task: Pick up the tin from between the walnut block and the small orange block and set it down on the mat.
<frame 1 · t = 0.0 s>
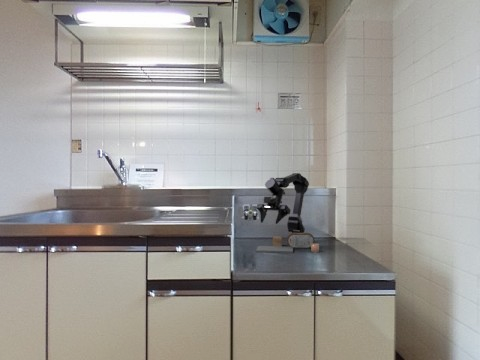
hand: (268, 223, 174), 15 cm above the counter, tool tilted 35°, fingers open, 9 cm apart
walnut block: (277, 246, 188), on the counter
mat: (274, 250, 176), on the counter
tin: (300, 248, 182), on the counter
small orange block: (315, 251, 172), on the counter
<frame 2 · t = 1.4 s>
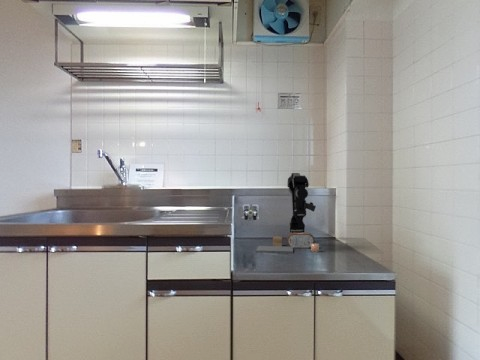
hand: (300, 226, 182), 12 cm above the counter, tool pointing down, fingers open, 9 cm apart
nothing on the counter moved.
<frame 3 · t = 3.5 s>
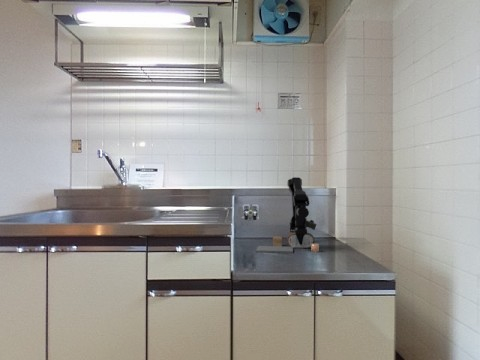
hand: (300, 244, 182), 2 cm above the counter, tool pointing down, fingers closed on tin, 3 cm apart
tin: (300, 248, 182), on the counter, touching gripper
everything else where it was.
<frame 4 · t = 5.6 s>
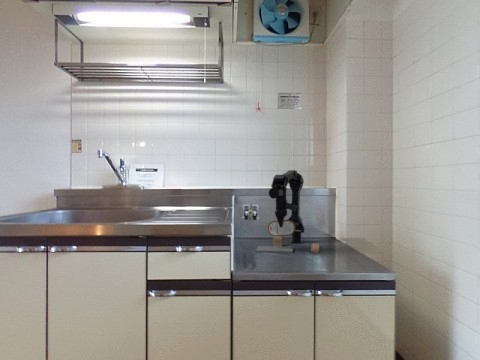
hand: (281, 226, 177), 12 cm above the counter, tool pointing down, fingers closed on tin, 2 cm apart
tin: (282, 236, 177), point 7 cm above the counter, touching gripper
everything else where it was.
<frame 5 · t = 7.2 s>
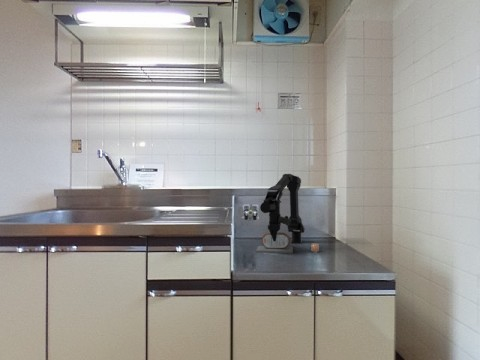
hand: (274, 240, 176), 5 cm above the counter, tool pointing down, fingers closed on tin, 3 cm apart
tin: (275, 248, 176), point 1 cm above the counter, touching gripper, mat
everything else where it was.
when the fingers open (5 cm above the counter, at t = 7.9 s): tin stays where it is, resting on mat.
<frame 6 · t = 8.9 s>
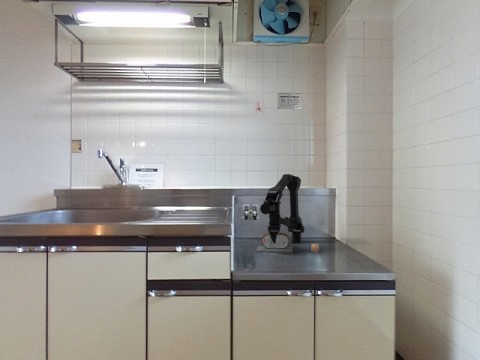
hand: (274, 241, 176), 5 cm above the counter, tool pointing down, fingers open, 9 cm apart
tin: (275, 248, 176), point 1 cm above the counter, touching mat
everything else where it was.
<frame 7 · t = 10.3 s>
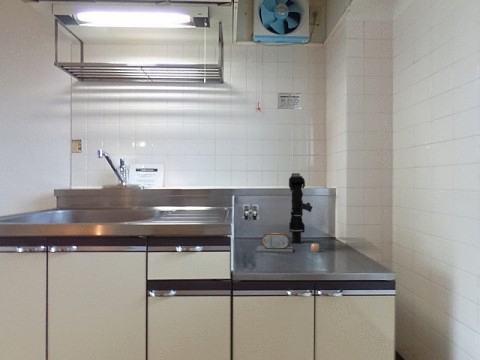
hand: (297, 226, 183), 12 cm above the counter, tool pointing down, fingers open, 9 cm apart
nothing on the counter moved.
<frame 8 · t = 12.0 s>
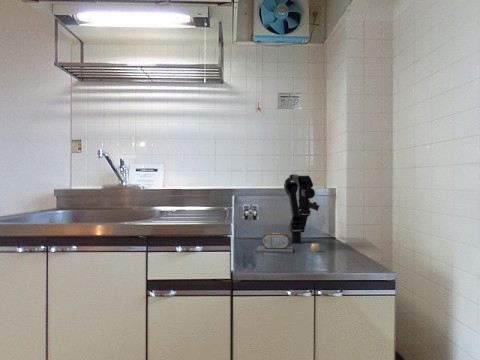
hand: (304, 225, 185), 12 cm above the counter, tool pointing down, fingers open, 9 cm apart
nothing on the counter moved.
at the end: tin inside the target area on the mat (0.6 cm from its centre), point 0.8 cm above the mat's base; tin tilted 0°; the gripper is holding nothing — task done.
